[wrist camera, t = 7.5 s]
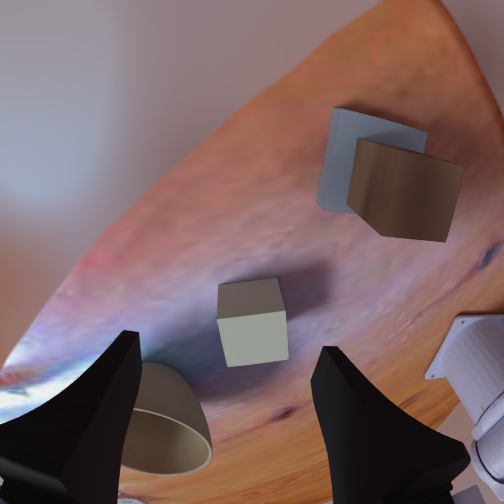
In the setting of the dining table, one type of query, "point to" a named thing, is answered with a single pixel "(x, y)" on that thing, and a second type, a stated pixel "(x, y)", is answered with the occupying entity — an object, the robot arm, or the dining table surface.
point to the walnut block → (403, 191)
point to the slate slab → (344, 145)
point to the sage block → (252, 322)
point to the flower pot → (166, 426)
